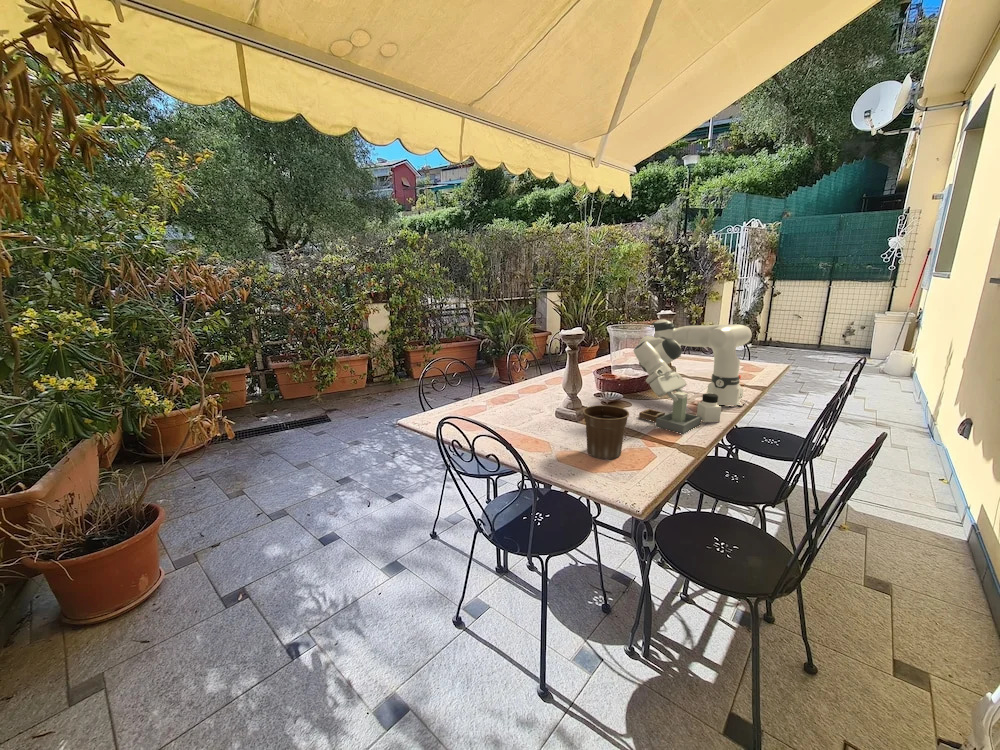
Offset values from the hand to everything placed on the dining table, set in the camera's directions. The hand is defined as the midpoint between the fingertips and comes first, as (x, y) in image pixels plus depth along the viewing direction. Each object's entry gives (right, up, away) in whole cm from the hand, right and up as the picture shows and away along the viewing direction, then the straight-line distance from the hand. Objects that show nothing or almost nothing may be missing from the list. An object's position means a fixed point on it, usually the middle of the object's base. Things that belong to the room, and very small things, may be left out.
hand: (680, 399), depth 175 cm
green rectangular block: (0, -9, +2) cm, 9 cm away
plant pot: (-38, -19, -22) cm, 48 cm away
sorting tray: (0, -11, +3) cm, 12 cm away
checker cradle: (-7, -9, +13) cm, 18 cm away
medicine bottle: (+16, -10, +10) cm, 21 cm away
